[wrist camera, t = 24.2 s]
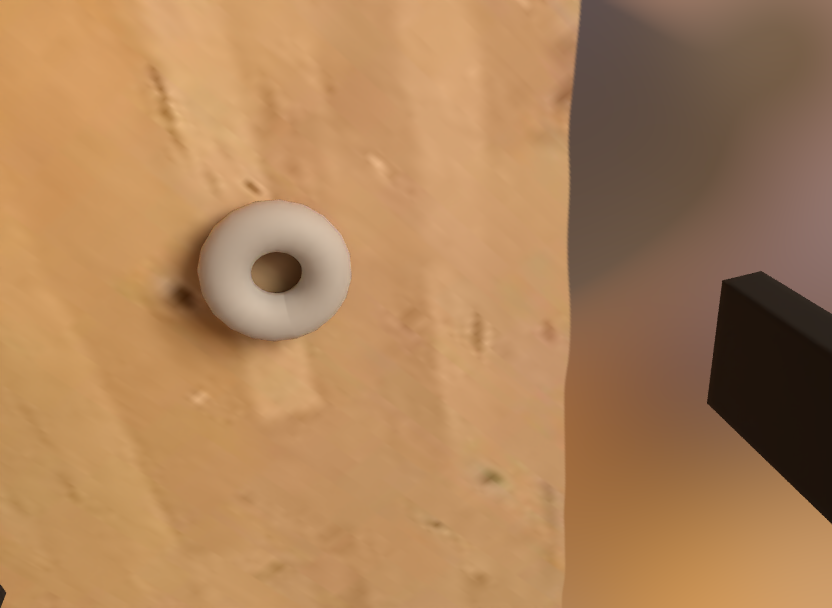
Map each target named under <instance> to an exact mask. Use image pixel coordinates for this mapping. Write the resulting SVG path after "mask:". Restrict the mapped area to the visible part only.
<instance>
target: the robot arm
mask: <svg viewBox="0 0 832 608" xmlns="http://www.w3.org/2000/svg"><path fill="white" fill-rule="evenodd" d="M707 404H709V405H710V406H711V407H712V408H713V409H714V410H715V411H716V412H717V413H718V414H719V415H720V416H721V417H722V418H723V419H724V420H725V421H726V422H727V423H728V424H729V425H730V426H731V427H732V428H733V429H735V431H736V432H737V433H738V434H739V435H740V436H741V437H743V438H744V439H745V440H746V441H747V442H748V443H749V444H750V445H751V446H752V447H753V448H754V449H755V450H756V451H757V452H758V453H759V454H760V455H761V456H762V457H763V458H764V459H765V460H766V461H768V463H769V464H770V465H772V466H773V467H774V468H775V469H776V470H777V471H778V472H779V473H780V474H781V475H782V476H783V477H784V478H785V479H786V480H787V481H788V482H789V483H790V484H791V485H792V486H793V487H794V488H795V489H796V490H797V491H798V492H799V493H800V494H801V495H802V496H804V497H805V498H806V499H807V500H808V501H809V502H810V503H811V504H812V505H813V506H814V507H815V508H816V509H817V510H818V511H819V512H820V513H821V514H822V515H823V516H824V517H825V518H826V519H827V520H828V521H829V522H830V523H832V314H831V313H829V312H827V311H826V310H824V309H823V308H821V307H819V306H817V305H816V304H815V303H813V302H811V301H810V300H808V299H806V298H805V297H803V296H801V295H800V294H798V293H796V292H795V291H793V290H792V289H790V288H788V287H787V286H785V285H783V284H782V283H780V282H778V281H777V280H775V279H773V278H772V277H770V276H768V275H767V274H765V273H764V272H762V271H760V272H756V273H752V274H747V275H744V276H740V277H735V278H731V279H727V280H723V281H722V288H721V296H720V304H719V312H718V321H717V328H716V336H715V344H714V352H713V360H712V368H711V375H710V384H709V392H708V399H707ZM5 595H6V592H5V590H4V589H3V587H2V586H1V585H0V608H1V605H2V603H3V600H4V597H5Z"/></svg>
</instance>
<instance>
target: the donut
mask: <svg viewBox="0 0 832 608" xmlns="http://www.w3.org/2000/svg"><path fill="white" fill-rule="evenodd" d="M271 252H282V253H287V254H289V255H291V256H293V257H295V258H296V259H297V260H298V261H299V263H300V265H301V268H302V276H301V279H300V280H299V282H298V283H297V284H296V285H295V286H294V287H293V288H292V289H290V290H287V291H285V292H280V293H272V292H267V291H265V290H263V289H260V288H259V287H258V286H257V285H256V284H255V283H254V282H253V280H252V276H251V269H252V266H253V264H254V263H255V261H256V260H257V259H259V258H260V257H261V256H263V255H265V254H268V253H271ZM197 272H198V277H199V282H200V287H201V292H202V296H203V297H204V299H205V301H206V302H207V304H208V306H209V307H210V309H211V311H212V312H213V314H214V315H215V316H216V317H218V318H219V319H220V320H221V321H222V322H223V323H225V324H226V325H227V326H228V327H229V328H231V329H232V330H235V331H237V332H239V333H242V334H244V335H246V336H249V337H251V338H254V339H261V340H269V341H280V340H288V339H296V338H298V337H301V336H303V335H306V334H308V333H310V332H313V331H315V330H317V329H318V328H319V327H321V326H322V325H323V324H324V323H326V322H327V321H328V320H329V319H331V318H332V317H333V316H334V315H335V313H336V312H337V311H338V309H339V308H340V306H341V305H342V303H343V302H344V300H345V299H346V296H347V292H348V288H349V285H350V281H351V262H350V253H349V251H348V249H347V246H346V244H345V242H344V240H343V237H342V235H341V234H340V233H339V231H338V230H337V229H336V228H335V227H334V226H333V225H332V224H331V223H330V222H329V221H328V220H327V219H326V217H325V216H323V215H322V214H320V213H318V212H316V211H314V210H313V209H311V208H309V207H307V206H305V205H304V204H299V203H294V202H289V201H285V200H280V199H279V200H268V201H257V202H253V203H250V204H248V205H246V206H243V207H241V208H238V209H236V210H233V211H232V212H230V213H229V214H228V215H227V216H226V217H225V218H223V219H222V220H221V221H220V222H219V223H218V224H216V225H215V226H214V227H213V229H212V231H211V232H210V234H209V236H208V238H207V239H206V241H205V243H204V244H203V246H202V248H201V252H200V258H199V264H198V270H197Z"/></svg>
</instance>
